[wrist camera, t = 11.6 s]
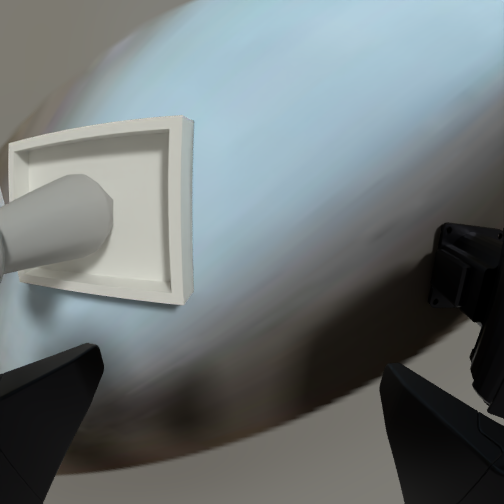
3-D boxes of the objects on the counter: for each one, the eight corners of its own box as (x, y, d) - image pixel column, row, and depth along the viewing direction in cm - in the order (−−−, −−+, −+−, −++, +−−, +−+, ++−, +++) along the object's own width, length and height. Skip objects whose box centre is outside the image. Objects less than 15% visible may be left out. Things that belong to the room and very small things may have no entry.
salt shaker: (89, 156, 20) (-59, 166, 7) (139, 206, 20) (-7, 258, 8) (55, 215, 21) (-74, 259, 9) (99, 263, 22) (-25, 342, 9)
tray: (194, 121, 19) (182, 115, 17) (193, 291, 22) (183, 305, 20) (28, 143, 20) (9, 143, 18) (36, 273, 24) (19, 281, 21)
